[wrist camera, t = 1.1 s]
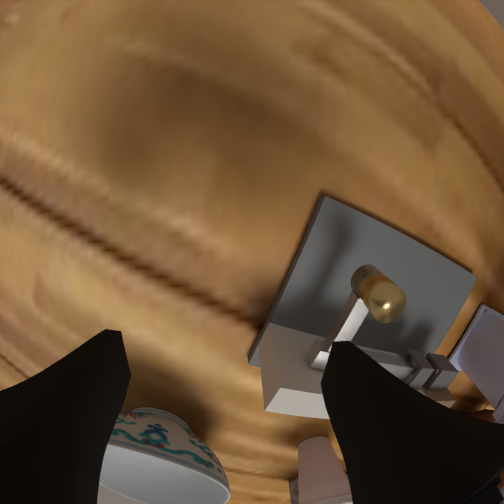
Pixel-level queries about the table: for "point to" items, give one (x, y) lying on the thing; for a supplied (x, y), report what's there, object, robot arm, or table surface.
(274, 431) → the table surface
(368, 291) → the bolt
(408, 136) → the table surface
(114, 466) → the chinaware
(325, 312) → the door
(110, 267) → the table surface
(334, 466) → the smoothie
